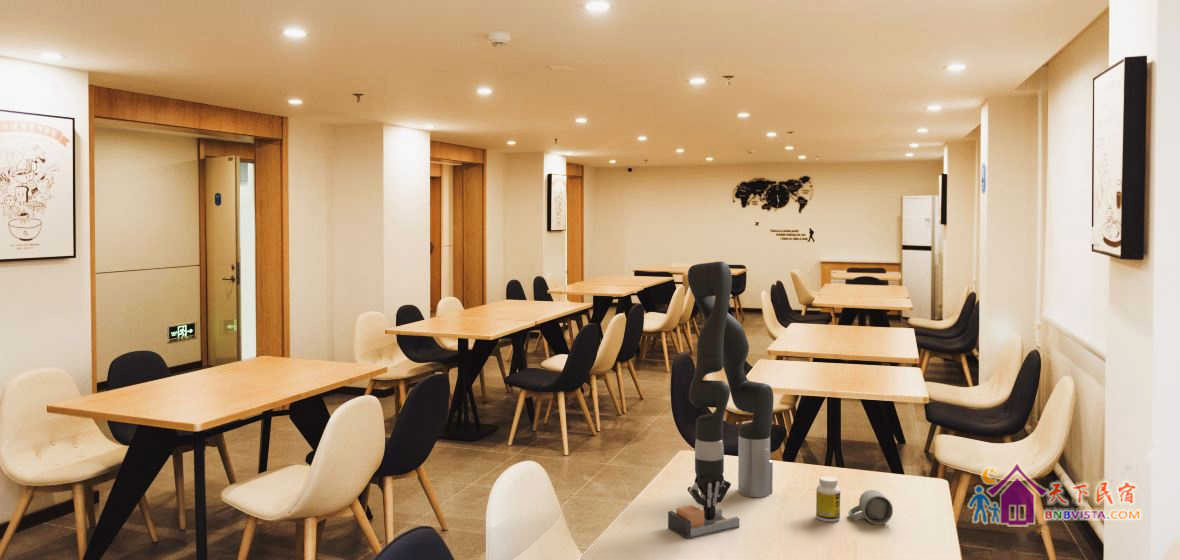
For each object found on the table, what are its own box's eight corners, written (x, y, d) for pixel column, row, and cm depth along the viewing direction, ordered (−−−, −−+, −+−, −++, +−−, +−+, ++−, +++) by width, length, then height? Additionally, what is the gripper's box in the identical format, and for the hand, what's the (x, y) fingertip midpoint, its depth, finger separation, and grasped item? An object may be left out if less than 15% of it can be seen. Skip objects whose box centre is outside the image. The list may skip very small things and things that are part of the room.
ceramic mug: (884, 513, 218) (884, 486, 218) (893, 525, 210) (893, 496, 209) (845, 513, 219) (845, 486, 219) (852, 524, 211) (852, 496, 210)
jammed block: (691, 523, 210) (691, 504, 210) (704, 530, 206) (704, 511, 205) (676, 526, 208) (676, 508, 208) (688, 533, 203) (688, 514, 203)
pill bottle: (840, 523, 211) (840, 483, 210) (815, 521, 213) (816, 481, 212) (839, 515, 217) (840, 476, 216) (816, 513, 219) (816, 474, 218)
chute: (719, 516, 217) (719, 500, 216) (739, 527, 209) (739, 510, 209) (668, 528, 209) (668, 511, 208) (686, 539, 201) (686, 522, 201)
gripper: (720, 448, 215) (720, 510, 216) (680, 455, 209) (680, 519, 210) (738, 455, 208) (738, 519, 210) (697, 462, 202) (697, 528, 204)
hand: (709, 519), depth 210 cm, fingers closed
